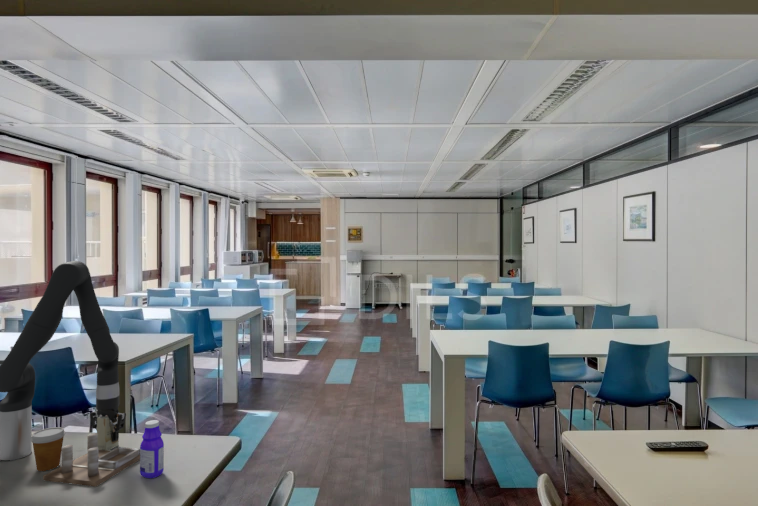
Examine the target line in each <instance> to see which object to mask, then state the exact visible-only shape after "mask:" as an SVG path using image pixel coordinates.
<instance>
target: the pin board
mask: <svg viewBox="0 0 758 506" xmlns="http://www.w3.org/2000/svg"><path fill="white" fill-rule="evenodd" d="M86 437H87V442H86V443H87V450H86V451H87V453H85V454H83V455H81V456H79V457H77V458H75V459H74V458H73V457H74V455H73V454H74V450H73V449H74V448H73V447H74V446H73V445H72V444H67V445H64V446H63V445H62V451H61V466H60V467H59V466H58V467H56V468H55V469H53V470H51V471H50V472H48V473H46V474H44V475H43V476H42V481H43V480H45V481H44V482H53V483H60V482H63V483H62V484H69V483H72V484H71V485H77V484H78V485H79V486H88V487H98V486H100V485H101V484H103V483H104V482H106V481H108V480H110V479H111V478H112V477H114V476H116V475H117V474H120V472H122V471H124V470H126V469H127V468H129V467H131V466H132V465H133V464H136V463H137V462H140V448H136V447H134V448H133V447H124V446H116V447H114V448H112V449H110V450H108V451H106V450H98V434H97V432H93V433H89V434H88V435H86Z"/></svg>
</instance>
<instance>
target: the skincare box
mask: <svg viewBox="0 0 758 506" xmlns="http://www.w3.org/2000/svg"><path fill="white" fill-rule="evenodd" d="M117 418H118V417H117ZM114 422H115V421H114ZM114 422H112V423H114ZM114 426H115V425H114ZM115 428H116V427H115ZM96 433H97V434H98V450H106V451H111V450H113V449H115V448H117V447H119V439H120V437H119V438H118V440H117V441H115V442H112V429H111V427H110V426H109V418H106V417H105V416H104V417H98V418H97V430H96Z"/></svg>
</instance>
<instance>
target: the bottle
mask: <svg viewBox="0 0 758 506" xmlns="http://www.w3.org/2000/svg"><path fill="white" fill-rule="evenodd" d="M144 424H145V425H144V432H143V434H142V437H141V438H142V441H141V443H140V445H139V449H140V460H139V473H140V476H141V477H143V478H146V479H154V478H155V479H156V478H157V477H159V476H161V475H162V474H163V473H164V468H165V466H164V455H165V450H164V449H165V448H164V447H165V444H164V440H163V438H162V434H163V433H162V432H161V429H160V421H159V420H157V419H151V420H147V421H146V422H145V423H144Z"/></svg>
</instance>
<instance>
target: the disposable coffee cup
mask: <svg viewBox="0 0 758 506" xmlns="http://www.w3.org/2000/svg"><path fill="white" fill-rule="evenodd" d="M65 434H66V431H65V430H64V427H60V426H57V427H56V426H52V427H48V428H43V429H40V430H37V431H35V432H33V434H32V438H31V441H32V449H33V454H34V462H35V466H36V467H35V468H36V471H37V470H38V472H47V471H46V470H48V471H51V470H50V469H52V470H54V469H57V468H58V467H59V466H60V465H59V464H61V459H62V447H63V443H64V438H65V437H64V436H65ZM57 466H58V467H57ZM53 468H54V469H53Z"/></svg>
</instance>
